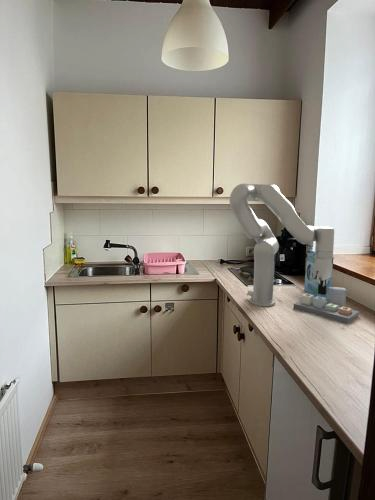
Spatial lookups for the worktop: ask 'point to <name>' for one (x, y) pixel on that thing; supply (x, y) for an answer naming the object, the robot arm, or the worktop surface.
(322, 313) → the keypad board
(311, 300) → the key
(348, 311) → the peach cube
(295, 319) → the worktop surface
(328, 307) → the key
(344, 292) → the medicine box
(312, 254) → the gum box
